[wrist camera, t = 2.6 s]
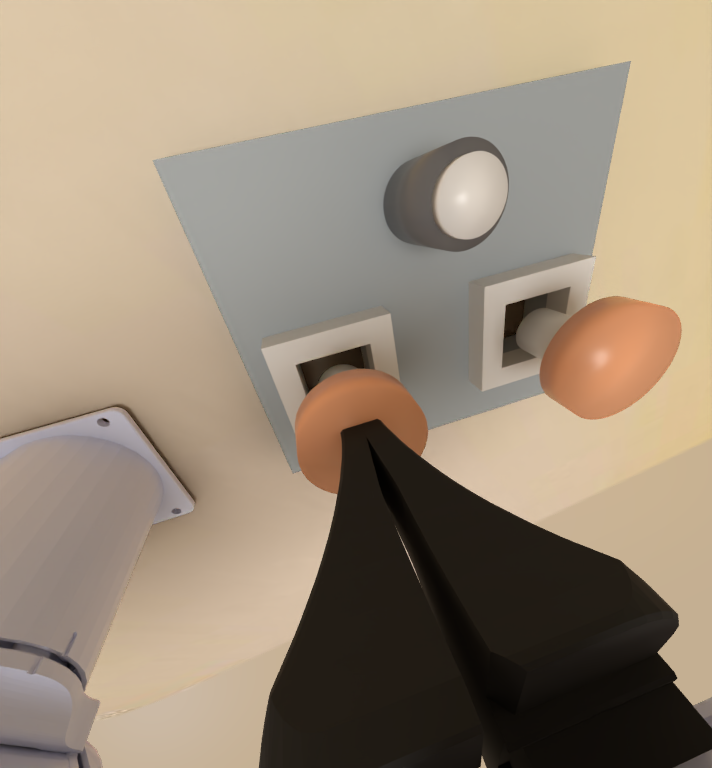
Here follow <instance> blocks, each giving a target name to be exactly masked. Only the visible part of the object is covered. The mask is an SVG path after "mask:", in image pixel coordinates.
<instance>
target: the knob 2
mask: <svg viewBox="0 0 712 768" xmlns="http://www.w3.org/2000/svg"><path fill="white" fill-rule="evenodd" d="M680 339H681V322H680V319H679V317H678V315H677V314H676V313H675V312H674V311H673V310H672V309H670V308H668V307H665V306H661V305H656V304H652V303H648V302H643V301H639V300H634V299H630V298H626V297H620V296H612V297H606V298H602V299H599V300H597V301H594V302H592V303H590V304H588V305H587V306H585V307H584V308H582V309H580V310H579V311H578V312H576V313H575V314H574V315H573V316H570V315H567V314H564V313H561V312H558V311H555V310H552V309H549V308H539V309H536V310H534V311H532V312H531V313H529V314H528V315H527V316H526V317H525V318H524V319H523V320H522V322H521V323H520V325H519V327H518V329H517V333H516V342H517V345H518V346H519V347H520V348H521V349H522V350H524V351H526V352H528V353H530V354H532V355H534V356H535V357H537V358H539V359H541V360H542V362H541V366H540V374H539V376H540V384H541V387H542V389H543V391H544V392H545V394H546V395H548V396H549V397H550V398H551V399H553V400H555V401H556V402H558V403H559V404H561V405H562V406H564V407H565V408H567V409H568V410H570V411H571V412H573V413H574V414H576V415H577V416H579V417H581V418H585V419H601V418H605V417H609V416H611V415H614V414H616V413H618V412H620V411H622V410H624V409H626V408H628V407H629V406H631V405H632V404H634V403H635V402H636V401H638V400H639V399H640V398H642V397H643V396H644V395H645V394H646V393H647V392H648V391H649V390H650V389H651V388H652V387H653V386H654V385H655V384H656V383H657V382H658V381H659V380H660V378H661V377H662V376H663V374H664V373H665V372H666V370H667V369H668V367H669V366H670V364H671V362H672V360H673V358H674V356H675V354H676V352H677V349H678V346H679V343H680Z"/></svg>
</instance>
